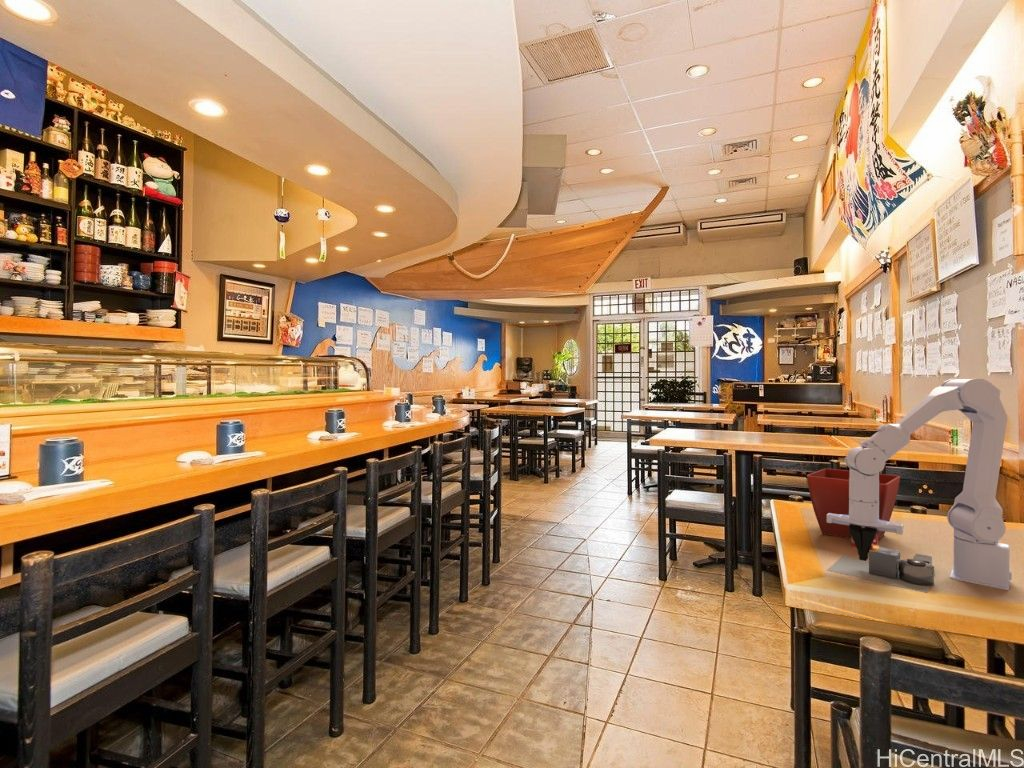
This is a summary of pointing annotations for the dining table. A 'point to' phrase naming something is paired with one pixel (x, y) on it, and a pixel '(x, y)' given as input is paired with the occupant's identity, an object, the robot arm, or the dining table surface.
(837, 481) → the plant pot
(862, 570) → the mat
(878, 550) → the socket
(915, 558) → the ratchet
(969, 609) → the dining table surface
